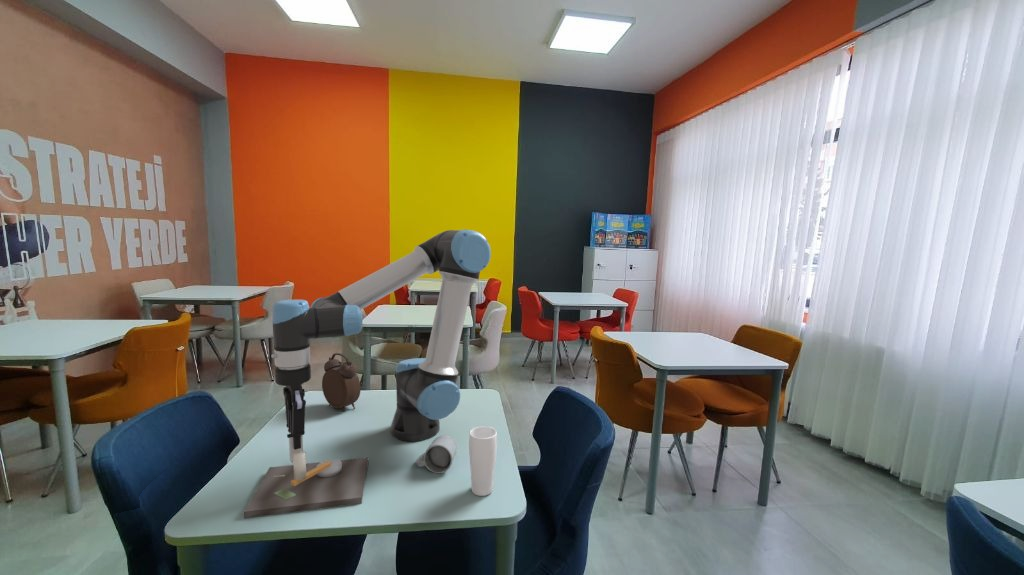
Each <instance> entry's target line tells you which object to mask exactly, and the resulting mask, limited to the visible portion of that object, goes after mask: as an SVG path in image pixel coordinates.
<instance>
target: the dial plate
mask: <svg viewBox="0 0 1024 575" xmlns="http://www.w3.org/2000/svg"><path fill="white" fill-rule="evenodd" d="M339 460H340V461H341V462H342V470H341V472H340V473H338V474H337V475H334V476H331V477H319V476H317V474H316V475H314V476H312V477H310V478H308V479H307V480H305V481H303V482H301V483H299V484H298V485H296V486H293V485H291V481H292V480H294V464H290V465H289V464H287V465H280V466H279V465H278V466H270V467H269V468H268V469H267V471H266V473H265V475H264V476H263V478H262V480H261V481H260V483H259V485H258V487H257V488H256V490H255V492H254V494H253V495H252V497H251V499H250V500H249V502H248V504H247V505H246V507H245V509H244V511H243V519H248V518H257V517H265V516H272V515H280V514H282V515H283V514H289V513H290V514H291V513H297V512H304V511H313V510H320V508H321V509H328V508H335V507H344V506H350V505H351V506H352V505H359V504H362V503H363V497H364V491H365V485H366V481H367V480H366V479H367V471H368V466H369V457H368V456H367V457H359V458H348V459H339ZM320 462H321V461H318V462H317V461H316V462H310V463H309V462H308V463H307V462H306V473H307V472H309V471H310V470H312V469H314V468H316V466H317V465H318V464H319V463H320Z"/></svg>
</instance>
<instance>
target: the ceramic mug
mask: <svg viewBox="0 0 1024 575" xmlns="http://www.w3.org/2000/svg"><path fill="white" fill-rule="evenodd" d="M457 449H458V446H457V443H456V440H455V439H454V437H451V436H450V435H447V434H440V435H439V436H437V437H436V438H435V439H433V441H432V442H431V443H430V444H429V446H428V447H427V449H426V450H425V451H424V452H423V453H422V454H421V455H418V457H417V458H416V460H415V463H416V465H417V466H418V467H419V468H421V467H426V468H427V470H428V471H430V472H431V473H435V474H442V473H445V472H447V471H448V470H450V468H451V466H452V465H453V461H454V459H455V456H456V455H457Z"/></svg>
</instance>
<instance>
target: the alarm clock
mask: <svg viewBox="0 0 1024 575" xmlns="http://www.w3.org/2000/svg"><path fill="white" fill-rule="evenodd" d="M336 356H340V357H343V358H344V359H345V362H342V361H340V360H339V359H336V358H335V357H336ZM323 368H324V374H323V376H322V378H321V379H322V380H321V389H322V392H323V397H324V399H325V400H326V402H327V404H328V407H332V408H334V409H342V412H346V410H345V408H346V407H348V406H349V407H350V406H352V407H353V410H355V409H356V407H355V403H356V402H357V401H358V400H359V398H360V395H361V388H362V387H361V381H360V378H359V376H358V374H357V372H358V369H357V368H358V367H357V365H356V363H354V362H353V361H350V358H349V356H347V355H346V354H344V353H340V352H335V353H333V354H332V356H330V357H328V360H327V361H326V362H325V363H324V365H323Z"/></svg>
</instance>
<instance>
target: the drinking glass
mask: <svg viewBox="0 0 1024 575" xmlns="http://www.w3.org/2000/svg"><path fill="white" fill-rule="evenodd" d="M497 450H498V431H497V430H496V429H495V428H494V427H491V426H476V427H473V428H471V429H470V431H469V436H468V451H469V452H468V453H469V454H468V455H469V465H470V480H471V481H470V482H471V486H470V487H471V492H472V493H473V494H474V495H476V496H479V497H486V496H488V495H490V494H492V492H493V490H494V478H495V471H496V470H495V469H496V460H497V452H498V451H497Z"/></svg>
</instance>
